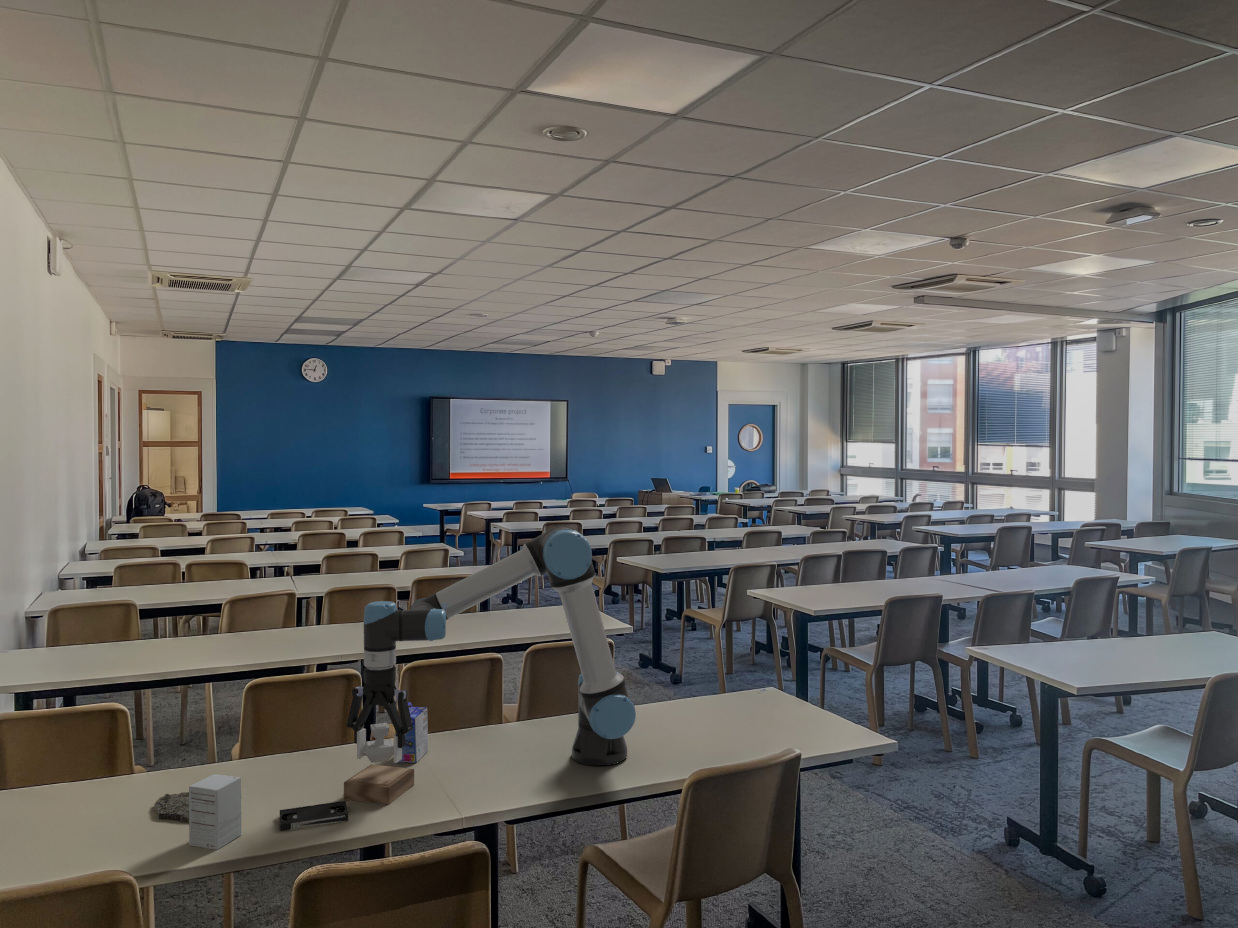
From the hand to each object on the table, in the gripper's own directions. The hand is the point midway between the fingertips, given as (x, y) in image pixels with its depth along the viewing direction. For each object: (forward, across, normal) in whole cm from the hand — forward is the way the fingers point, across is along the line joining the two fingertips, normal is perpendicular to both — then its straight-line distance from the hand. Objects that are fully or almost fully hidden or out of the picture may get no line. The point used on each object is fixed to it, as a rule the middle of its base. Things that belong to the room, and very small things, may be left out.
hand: (379, 758), depth 203 cm
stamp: (+1, 0, 0) cm, 1 cm away
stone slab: (+9, -38, -21) cm, 44 cm away
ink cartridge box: (+8, -4, +24) cm, 26 cm away
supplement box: (+8, -20, -32) cm, 39 cm away
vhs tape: (+9, -6, -17) cm, 20 cm away
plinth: (+8, 0, 0) cm, 8 cm away
